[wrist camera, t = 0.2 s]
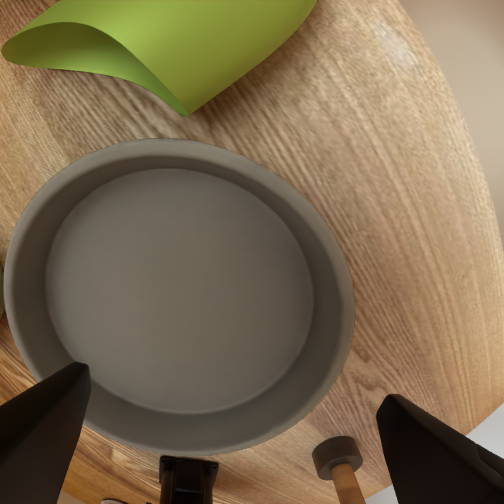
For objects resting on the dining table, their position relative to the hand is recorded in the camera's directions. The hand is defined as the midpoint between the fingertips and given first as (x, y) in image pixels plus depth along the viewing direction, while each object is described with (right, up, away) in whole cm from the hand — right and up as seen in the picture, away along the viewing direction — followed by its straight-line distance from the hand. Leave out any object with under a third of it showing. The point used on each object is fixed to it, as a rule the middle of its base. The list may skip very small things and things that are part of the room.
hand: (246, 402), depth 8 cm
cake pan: (-6, 0, +15) cm, 16 cm away
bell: (-5, +19, +9) cm, 21 cm away
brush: (+9, -18, +23) cm, 31 cm away
